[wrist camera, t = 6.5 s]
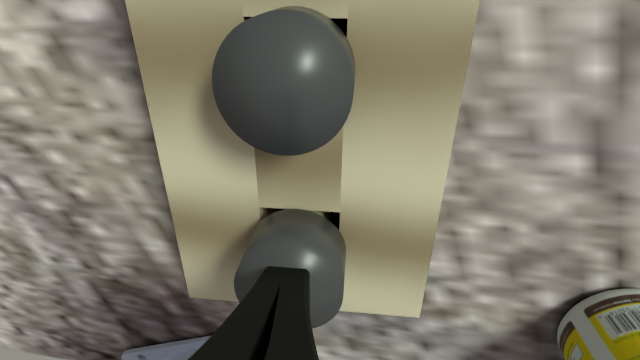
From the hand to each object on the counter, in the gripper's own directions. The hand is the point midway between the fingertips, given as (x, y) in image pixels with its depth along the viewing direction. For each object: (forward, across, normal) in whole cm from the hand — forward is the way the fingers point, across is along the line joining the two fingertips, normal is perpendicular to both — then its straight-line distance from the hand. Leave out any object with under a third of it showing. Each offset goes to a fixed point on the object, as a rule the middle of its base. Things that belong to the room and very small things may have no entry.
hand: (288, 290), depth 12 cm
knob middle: (+6, 0, -6) cm, 9 cm away
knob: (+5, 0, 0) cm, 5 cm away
